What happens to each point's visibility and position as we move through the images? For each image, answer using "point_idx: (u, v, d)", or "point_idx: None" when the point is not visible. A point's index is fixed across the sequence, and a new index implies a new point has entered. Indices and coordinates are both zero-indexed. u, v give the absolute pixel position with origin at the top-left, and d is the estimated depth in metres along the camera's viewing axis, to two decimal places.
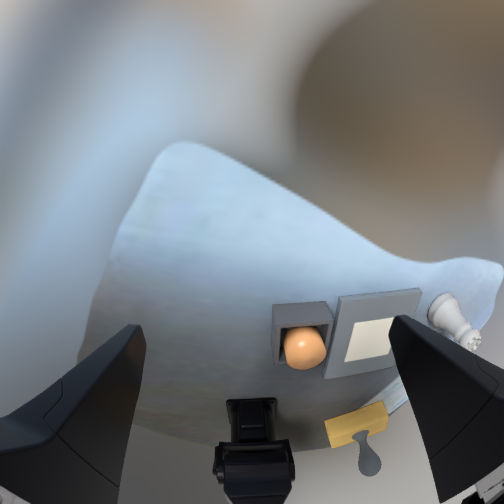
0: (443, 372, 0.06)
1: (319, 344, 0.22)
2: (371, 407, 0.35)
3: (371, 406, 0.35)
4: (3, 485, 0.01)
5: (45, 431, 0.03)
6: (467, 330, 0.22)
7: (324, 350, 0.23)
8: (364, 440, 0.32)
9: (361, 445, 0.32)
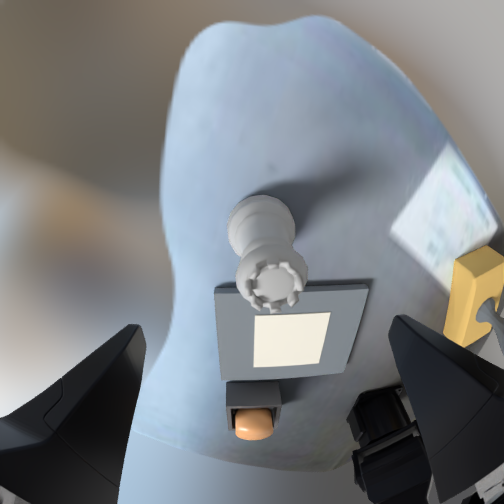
0: (443, 372, 0.06)
1: (239, 428, 0.22)
2: (454, 281, 0.21)
3: (453, 281, 0.21)
4: (3, 485, 0.01)
5: (45, 431, 0.03)
6: None
7: (248, 425, 0.22)
8: (491, 318, 0.18)
9: (493, 327, 0.17)
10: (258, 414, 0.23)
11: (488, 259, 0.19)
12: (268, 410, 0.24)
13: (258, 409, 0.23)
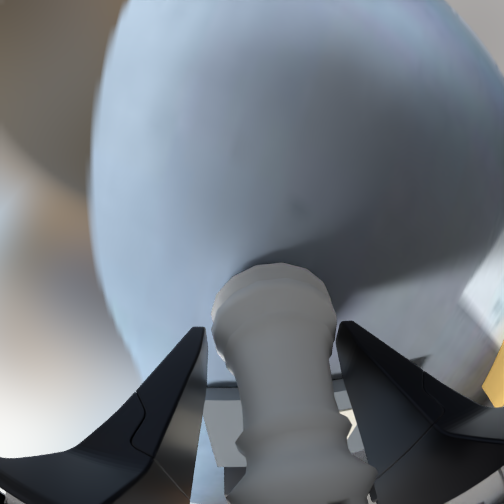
0: (382, 389, 0.06)
1: None
2: None
3: None
4: None
5: (139, 458, 0.03)
6: None
7: None
8: None
9: None
10: None
11: None
12: None
13: None
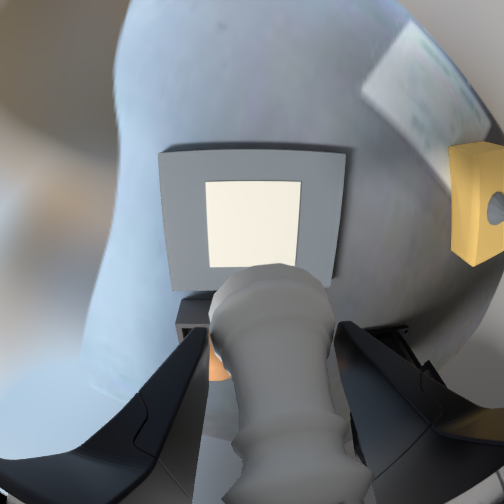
0: (380, 390, 0.06)
1: None
2: (453, 171, 0.17)
3: (452, 172, 0.17)
4: None
5: (142, 458, 0.03)
6: None
7: None
8: None
9: None
10: None
11: (487, 146, 0.15)
12: None
13: None
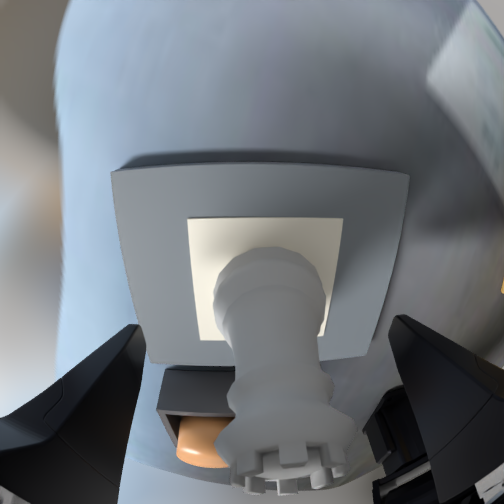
0: (443, 372, 0.06)
1: (181, 450, 0.11)
2: None
3: None
4: (3, 485, 0.01)
5: (45, 431, 0.03)
6: None
7: (194, 447, 0.11)
8: None
9: None
10: (213, 428, 0.12)
11: None
12: None
13: (215, 419, 0.13)
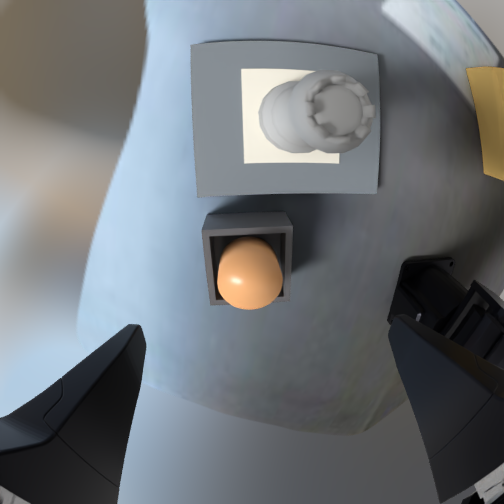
0: (443, 372, 0.06)
1: (223, 268, 0.15)
2: (474, 89, 0.14)
3: (473, 91, 0.14)
4: (3, 485, 0.01)
5: (45, 431, 0.03)
6: None
7: (238, 258, 0.14)
8: None
9: None
10: (255, 244, 0.16)
11: None
12: (272, 249, 0.17)
13: (255, 240, 0.16)
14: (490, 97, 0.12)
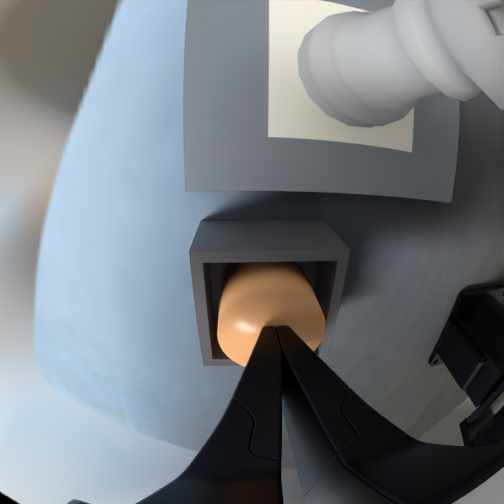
0: (300, 403, 0.06)
1: (229, 312, 0.08)
2: None
3: None
4: None
5: (265, 465, 0.04)
6: (433, 32, 0.02)
7: (256, 296, 0.08)
8: None
9: None
10: (283, 271, 0.09)
11: None
12: (306, 276, 0.10)
13: (281, 263, 0.10)
14: None
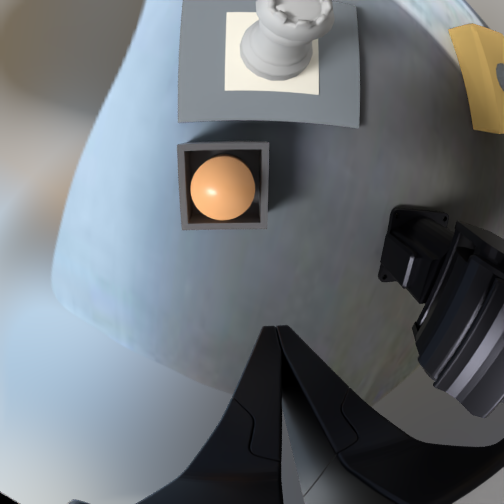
0: (300, 403, 0.06)
1: (197, 172, 0.15)
2: (457, 47, 0.13)
3: (457, 48, 0.13)
4: None
5: (265, 465, 0.04)
6: None
7: (211, 161, 0.14)
8: None
9: None
10: (230, 156, 0.15)
11: None
12: (247, 166, 0.17)
13: (231, 155, 0.16)
14: (472, 51, 0.11)
